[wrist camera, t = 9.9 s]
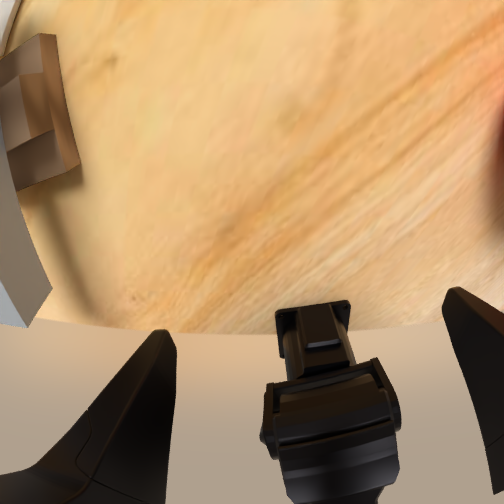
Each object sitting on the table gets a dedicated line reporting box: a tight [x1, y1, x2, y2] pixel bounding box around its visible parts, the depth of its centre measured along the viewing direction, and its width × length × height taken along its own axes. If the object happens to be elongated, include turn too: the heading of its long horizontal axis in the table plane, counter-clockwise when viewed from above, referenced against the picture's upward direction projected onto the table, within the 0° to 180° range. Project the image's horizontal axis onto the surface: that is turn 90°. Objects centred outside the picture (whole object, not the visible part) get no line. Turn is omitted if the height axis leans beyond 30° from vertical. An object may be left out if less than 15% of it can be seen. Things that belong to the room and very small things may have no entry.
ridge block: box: [0, 33, 81, 191], centre depth 12 cm, size 10×8×4 cm
